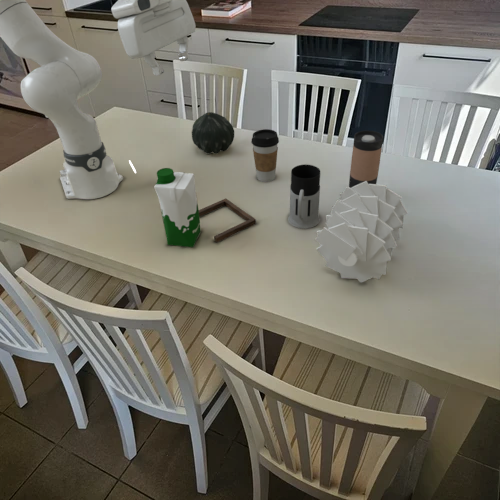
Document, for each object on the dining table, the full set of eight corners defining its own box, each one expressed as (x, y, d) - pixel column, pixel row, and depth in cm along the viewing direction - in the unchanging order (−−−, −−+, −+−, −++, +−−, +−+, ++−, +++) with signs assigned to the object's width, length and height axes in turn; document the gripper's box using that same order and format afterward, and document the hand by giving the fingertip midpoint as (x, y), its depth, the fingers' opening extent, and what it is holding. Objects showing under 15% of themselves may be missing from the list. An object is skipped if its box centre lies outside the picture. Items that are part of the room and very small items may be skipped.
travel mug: (376, 196, 132) (386, 132, 120) (370, 209, 127) (380, 144, 114) (350, 191, 135) (358, 128, 122) (343, 204, 130) (350, 140, 117)
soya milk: (174, 227, 124) (162, 162, 112) (205, 230, 123) (196, 164, 110) (163, 247, 118) (149, 180, 105) (196, 250, 116) (185, 182, 104)
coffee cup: (248, 181, 142) (246, 137, 133) (258, 169, 148) (257, 125, 139) (273, 185, 140) (273, 140, 130) (282, 172, 146) (282, 129, 136)
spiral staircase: (382, 245, 120) (360, 304, 102) (327, 210, 122) (296, 261, 103) (426, 197, 108) (410, 255, 90) (364, 158, 109) (335, 206, 91)
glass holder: (321, 211, 127) (324, 164, 118) (315, 242, 117) (318, 192, 107) (290, 209, 129) (291, 162, 120) (282, 238, 118) (282, 189, 109)
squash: (221, 120, 167) (197, 98, 155) (248, 133, 159) (225, 111, 147) (201, 153, 168) (175, 133, 156) (226, 167, 160) (202, 148, 147)
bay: (188, 219, 127) (187, 214, 126) (226, 202, 133) (225, 198, 132) (216, 242, 118) (216, 238, 117) (256, 223, 124) (255, 219, 123)
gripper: (168, -12, 99) (188, 54, 106) (104, 11, 85) (132, 84, 93) (190, -17, 95) (209, 50, 103) (128, 5, 82) (155, 81, 90)
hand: (172, 67), depth 98 cm, fingers open, 8 cm apart
